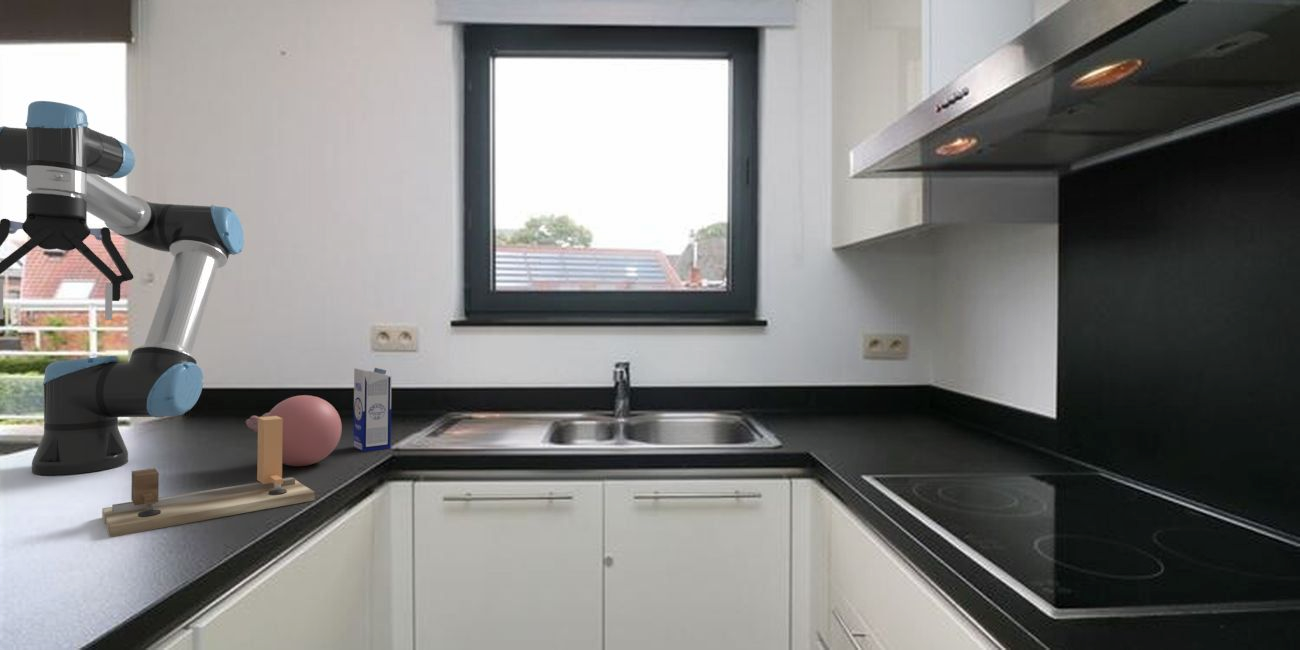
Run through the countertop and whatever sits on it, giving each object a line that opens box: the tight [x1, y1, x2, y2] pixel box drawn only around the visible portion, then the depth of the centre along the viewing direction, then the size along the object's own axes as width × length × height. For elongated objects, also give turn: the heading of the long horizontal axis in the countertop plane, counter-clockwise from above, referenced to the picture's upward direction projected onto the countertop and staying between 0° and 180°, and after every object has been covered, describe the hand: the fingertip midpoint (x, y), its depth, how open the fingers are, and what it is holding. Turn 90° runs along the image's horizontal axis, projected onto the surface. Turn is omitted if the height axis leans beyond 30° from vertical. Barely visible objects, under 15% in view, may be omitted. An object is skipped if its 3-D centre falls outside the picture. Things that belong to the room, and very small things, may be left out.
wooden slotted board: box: [101, 467, 316, 538], centre depth 108 cm, size 12×28×7 cm, turn 135°
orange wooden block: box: [256, 416, 284, 490], centre depth 114 cm, size 8×3×12 cm, turn 45°
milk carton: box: [352, 367, 392, 452], centre depth 158 cm, size 7×7×20 cm
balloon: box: [245, 394, 343, 467], centre depth 139 cm, size 15×20×15 cm
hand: (56, 319), depth 108 cm, fingers open, 13 cm apart
